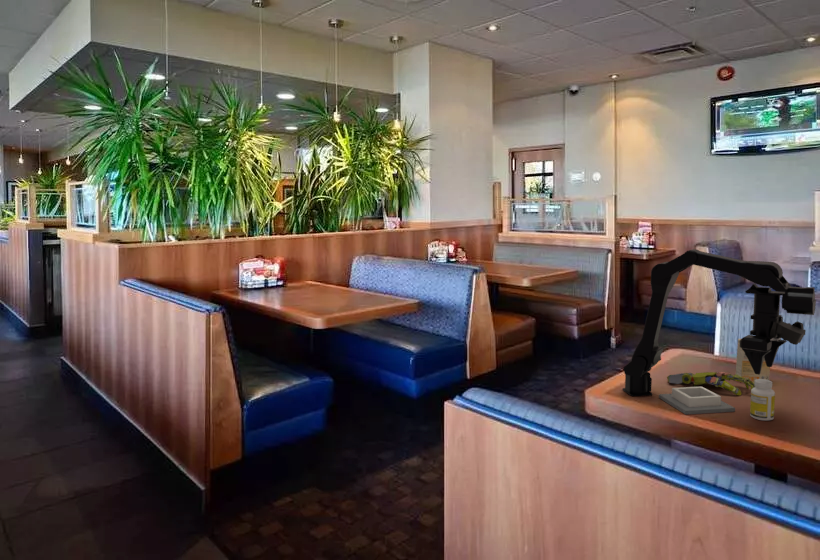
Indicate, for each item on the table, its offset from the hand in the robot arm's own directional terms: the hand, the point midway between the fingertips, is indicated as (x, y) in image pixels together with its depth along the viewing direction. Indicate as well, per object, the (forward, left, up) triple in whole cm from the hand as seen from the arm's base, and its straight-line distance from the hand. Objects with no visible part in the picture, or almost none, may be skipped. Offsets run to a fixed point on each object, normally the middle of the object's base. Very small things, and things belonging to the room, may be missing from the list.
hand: (763, 370), depth 155 cm
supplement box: (+17, +28, -13) cm, 35 cm away
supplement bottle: (-1, -1, -13) cm, 13 cm away
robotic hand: (+2, +24, -13) cm, 27 cm away
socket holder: (-12, +11, -12) cm, 20 cm away
